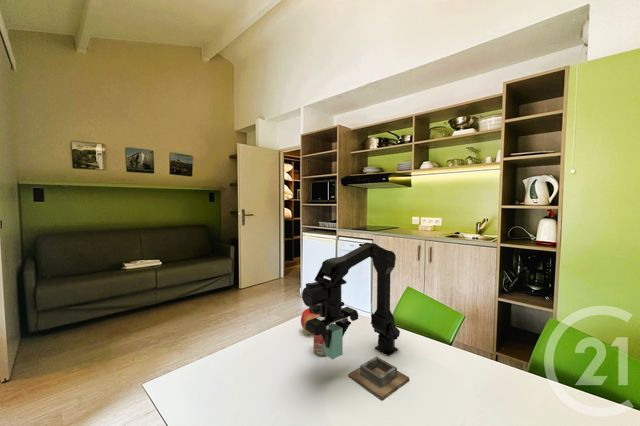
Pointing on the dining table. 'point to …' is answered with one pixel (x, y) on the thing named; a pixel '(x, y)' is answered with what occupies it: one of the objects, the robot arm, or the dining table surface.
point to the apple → (307, 318)
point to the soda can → (318, 341)
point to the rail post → (334, 342)
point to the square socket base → (379, 377)
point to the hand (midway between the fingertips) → (333, 345)
